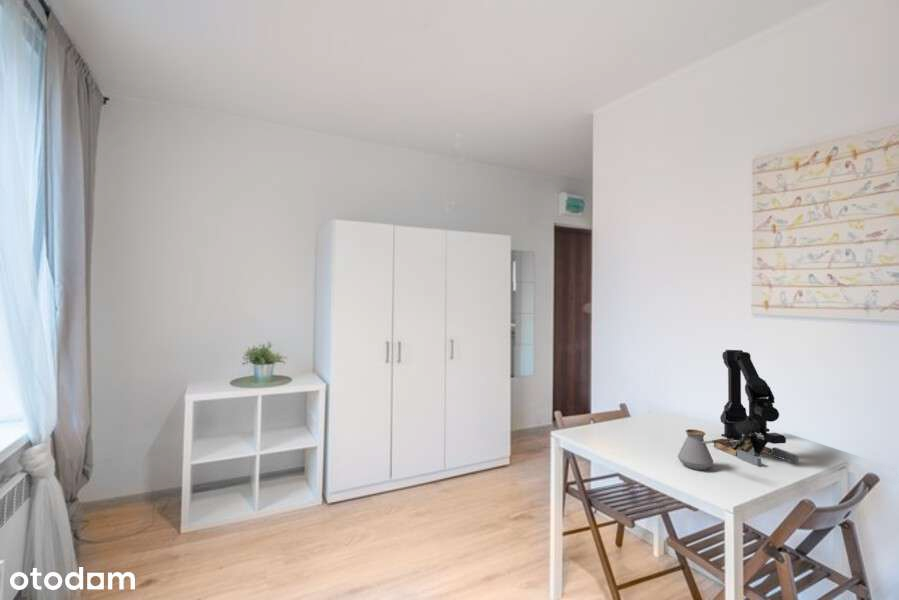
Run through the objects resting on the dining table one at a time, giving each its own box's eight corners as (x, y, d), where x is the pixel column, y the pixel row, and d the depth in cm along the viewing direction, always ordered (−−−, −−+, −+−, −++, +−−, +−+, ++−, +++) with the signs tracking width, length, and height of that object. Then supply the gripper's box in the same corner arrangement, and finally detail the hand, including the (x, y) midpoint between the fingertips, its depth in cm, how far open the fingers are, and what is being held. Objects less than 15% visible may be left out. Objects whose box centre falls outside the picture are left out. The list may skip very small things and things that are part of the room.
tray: (714, 447, 177) (714, 442, 177) (748, 444, 180) (748, 440, 180) (736, 456, 167) (736, 451, 167) (772, 454, 170) (772, 449, 170)
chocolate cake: (746, 460, 164) (764, 437, 166) (728, 449, 170) (746, 427, 172) (750, 471, 169) (768, 449, 171) (732, 460, 175) (749, 439, 177)
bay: (737, 457, 165) (737, 450, 165) (775, 454, 169) (775, 447, 169) (757, 466, 157) (757, 458, 157) (798, 463, 160) (798, 455, 160)
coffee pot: (670, 462, 161) (670, 423, 161) (693, 458, 164) (693, 420, 164) (722, 485, 140) (723, 441, 140) (747, 481, 144) (747, 437, 144)
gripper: (721, 409, 174) (720, 447, 174) (761, 422, 156) (761, 464, 156) (744, 408, 176) (744, 445, 176) (787, 420, 158) (787, 462, 158)
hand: (757, 454), depth 167 cm, fingers closed
